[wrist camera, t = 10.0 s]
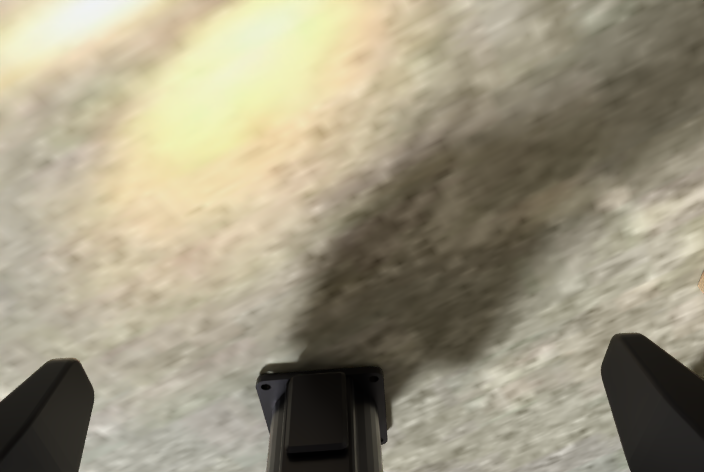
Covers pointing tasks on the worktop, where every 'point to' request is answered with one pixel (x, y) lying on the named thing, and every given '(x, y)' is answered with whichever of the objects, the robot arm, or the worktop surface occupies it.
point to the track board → (701, 283)
